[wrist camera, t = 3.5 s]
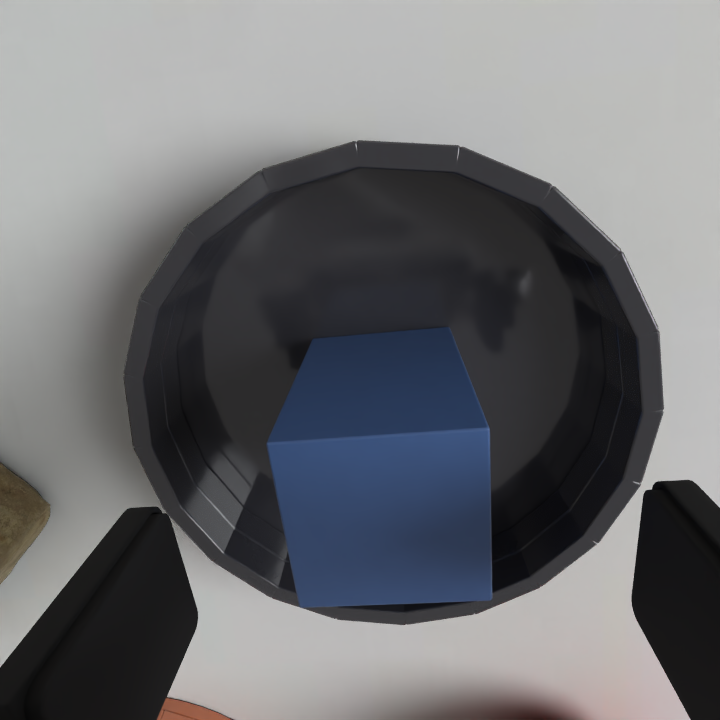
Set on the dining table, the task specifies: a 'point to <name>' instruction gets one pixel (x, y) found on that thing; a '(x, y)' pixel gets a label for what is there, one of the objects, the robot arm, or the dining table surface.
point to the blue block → (384, 473)
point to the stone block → (18, 519)
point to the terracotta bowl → (187, 711)
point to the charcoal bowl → (390, 314)
